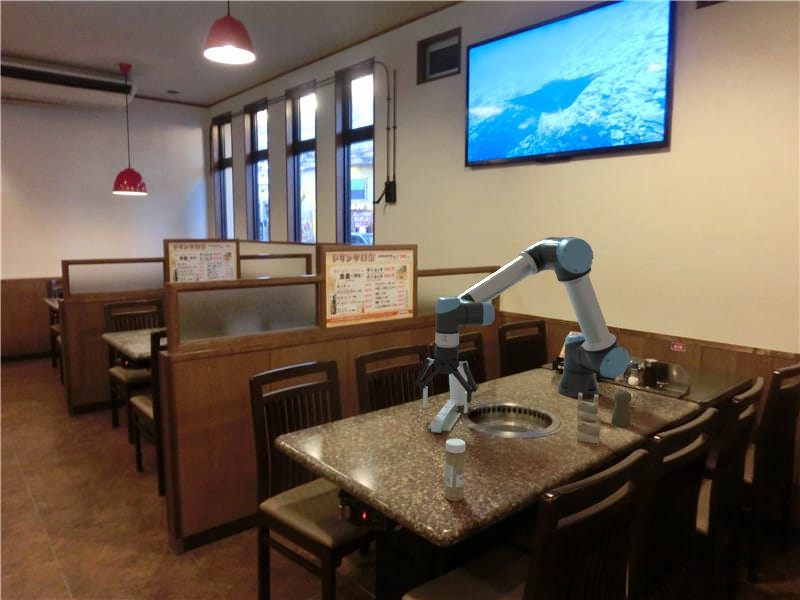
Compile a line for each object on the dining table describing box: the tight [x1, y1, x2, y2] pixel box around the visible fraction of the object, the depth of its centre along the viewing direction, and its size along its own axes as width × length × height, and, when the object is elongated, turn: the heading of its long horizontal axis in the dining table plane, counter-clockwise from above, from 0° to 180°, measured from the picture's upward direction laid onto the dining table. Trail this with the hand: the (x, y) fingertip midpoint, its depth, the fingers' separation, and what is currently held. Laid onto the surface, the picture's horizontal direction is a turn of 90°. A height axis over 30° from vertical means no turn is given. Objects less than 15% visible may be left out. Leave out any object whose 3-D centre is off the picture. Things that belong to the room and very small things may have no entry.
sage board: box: [427, 411, 462, 433], centre depth 173 cm, size 16×7×1 cm, turn 161°
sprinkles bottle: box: [444, 438, 466, 502], centre depth 123 cm, size 5×5×14 cm
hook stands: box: [576, 393, 602, 445], centre depth 168 cm, size 24×6×8 cm, turn 161°
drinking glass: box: [448, 366, 468, 407], centre depth 190 cm, size 7×7×15 cm
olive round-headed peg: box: [610, 390, 632, 428], centre depth 173 cm, size 6×6×11 cm
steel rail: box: [430, 399, 459, 434], centre depth 173 cm, size 24×3×3 cm, turn 162°
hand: (445, 409), depth 173 cm, fingers open, 13 cm apart
